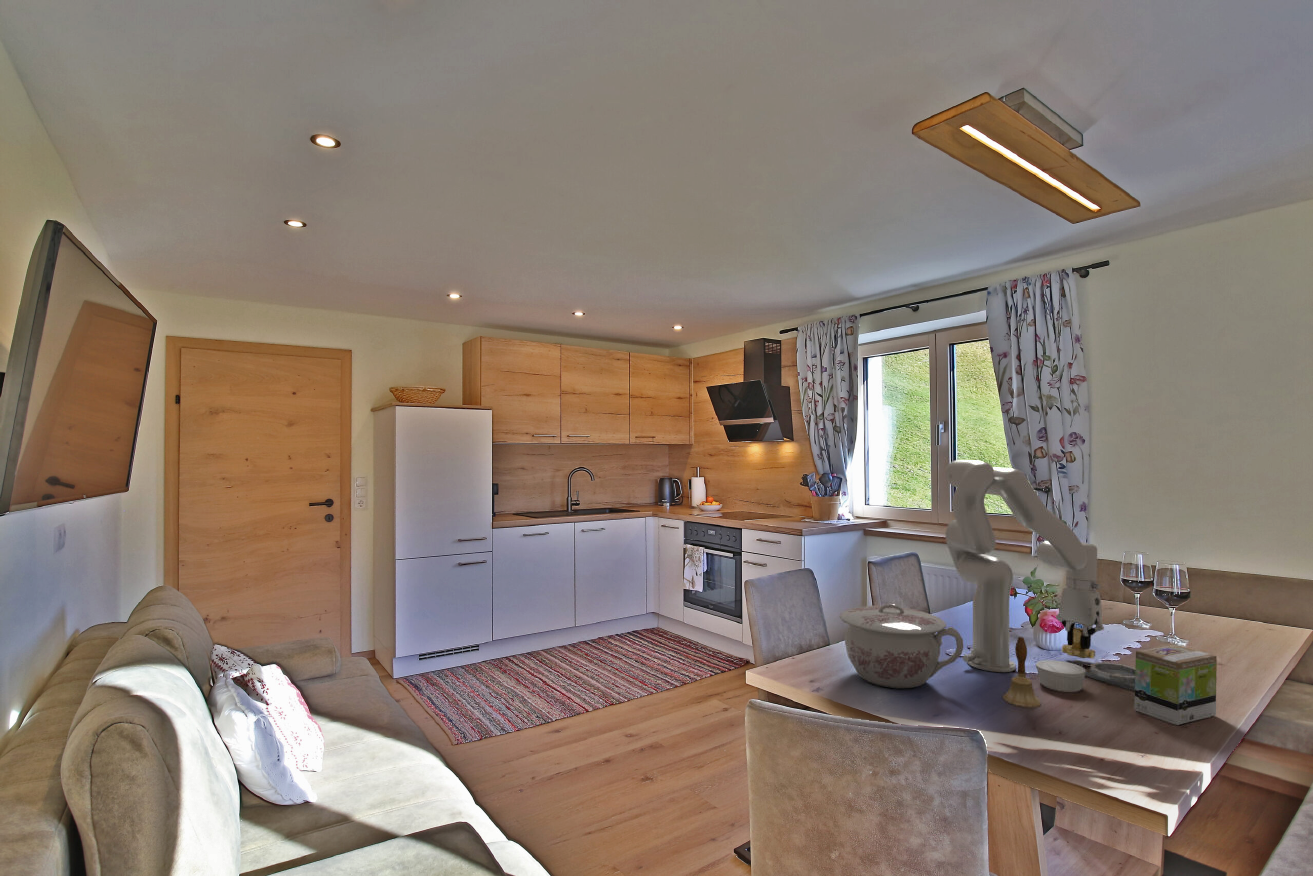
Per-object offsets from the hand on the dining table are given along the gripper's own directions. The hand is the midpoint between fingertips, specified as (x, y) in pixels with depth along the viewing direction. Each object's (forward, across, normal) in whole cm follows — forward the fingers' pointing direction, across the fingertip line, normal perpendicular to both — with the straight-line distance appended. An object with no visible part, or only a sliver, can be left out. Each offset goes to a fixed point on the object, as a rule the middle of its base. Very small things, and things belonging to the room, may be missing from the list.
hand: (1078, 646), depth 194 cm
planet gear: (+2, 0, 0) cm, 2 cm away
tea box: (+5, -33, +17) cm, 37 cm away
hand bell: (+7, -12, +43) cm, 45 cm away
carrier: (+5, -16, +4) cm, 17 cm away
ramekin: (+6, -10, +24) cm, 26 cm away
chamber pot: (+8, +14, +61) cm, 63 cm away
